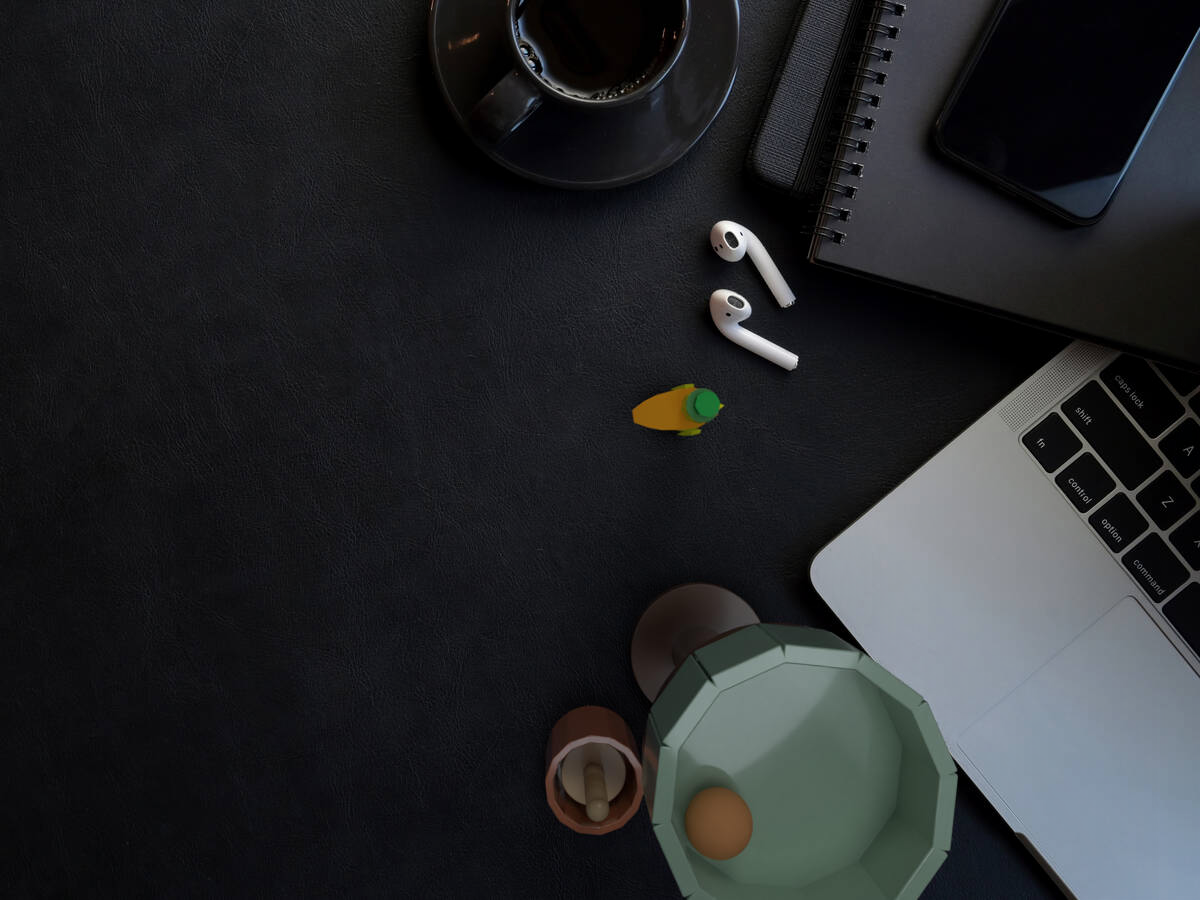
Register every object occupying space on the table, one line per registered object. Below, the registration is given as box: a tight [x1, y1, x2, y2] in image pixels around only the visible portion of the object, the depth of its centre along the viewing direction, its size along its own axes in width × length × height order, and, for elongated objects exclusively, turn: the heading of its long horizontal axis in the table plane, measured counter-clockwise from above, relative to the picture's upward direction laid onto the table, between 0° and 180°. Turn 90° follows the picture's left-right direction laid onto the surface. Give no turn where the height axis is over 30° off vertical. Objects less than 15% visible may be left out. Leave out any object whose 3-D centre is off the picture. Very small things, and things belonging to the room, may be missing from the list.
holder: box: [544, 705, 644, 836], centre depth 64 cm, size 6×6×8 cm
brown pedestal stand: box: [629, 581, 815, 766], centre depth 56 cm, size 13×13×25 cm
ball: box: [685, 787, 753, 860], centre depth 41 cm, size 3×3×3 cm
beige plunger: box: [560, 743, 626, 822], centre depth 62 cm, size 5×5×12 cm
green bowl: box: [641, 622, 959, 900], centre depth 41 cm, size 13×13×5 cm
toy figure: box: [632, 383, 725, 437], centre depth 63 cm, size 7×4×12 cm, turn 98°
